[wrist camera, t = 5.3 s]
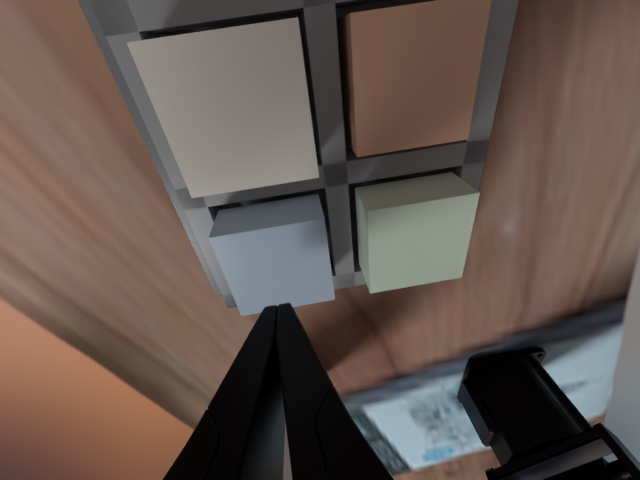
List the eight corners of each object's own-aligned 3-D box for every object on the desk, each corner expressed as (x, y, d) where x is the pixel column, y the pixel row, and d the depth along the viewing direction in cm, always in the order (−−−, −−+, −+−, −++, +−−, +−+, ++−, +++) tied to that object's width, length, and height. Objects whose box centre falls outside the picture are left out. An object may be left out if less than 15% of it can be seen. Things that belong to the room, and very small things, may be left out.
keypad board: (516, -74, 9) (579, -106, 7) (456, 245, 17) (480, 272, 15) (85, -13, 9) (30, -30, 7) (218, 286, 16) (210, 319, 14)
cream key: (294, 23, 8) (297, 17, 7) (312, 157, 11) (319, 177, 9) (156, 43, 8) (126, 42, 7) (205, 174, 10) (191, 198, 9)
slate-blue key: (318, 193, 11) (324, 218, 10) (328, 269, 14) (335, 299, 12) (218, 210, 11) (208, 237, 10) (245, 283, 14) (241, 316, 12)
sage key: (451, 171, 12) (480, 192, 10) (440, 250, 14) (461, 277, 12) (354, 188, 12) (367, 211, 10) (359, 263, 14) (370, 293, 12)
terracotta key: (456, 1, 10) (493, -9, 8) (441, 126, 12) (468, 139, 10) (337, 19, 9) (350, 13, 8) (346, 141, 12) (357, 157, 10)
